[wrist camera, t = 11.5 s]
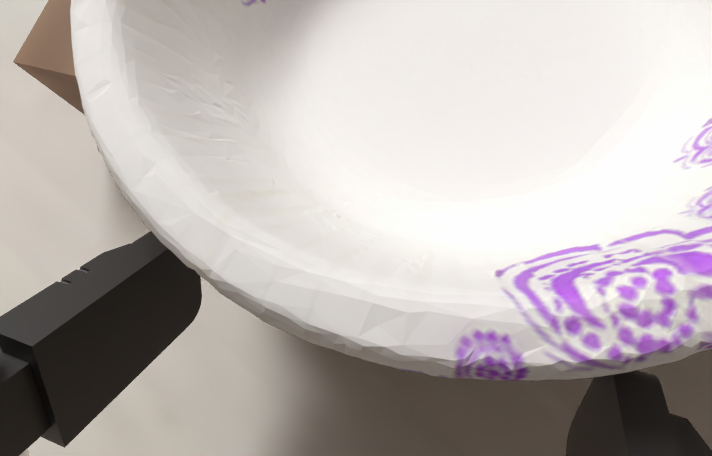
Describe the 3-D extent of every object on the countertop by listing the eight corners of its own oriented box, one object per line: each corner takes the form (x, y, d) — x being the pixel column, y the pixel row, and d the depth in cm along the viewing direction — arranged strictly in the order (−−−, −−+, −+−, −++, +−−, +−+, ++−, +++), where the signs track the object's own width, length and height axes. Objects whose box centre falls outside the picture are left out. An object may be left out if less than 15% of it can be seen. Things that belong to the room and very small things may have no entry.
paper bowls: (571, 503, 12) (818, 738, 4) (146, 207, 16) (-107, 62, 9) (813, 37, 14) (1245, -348, 7) (387, -106, 19) (353, -432, 11)
